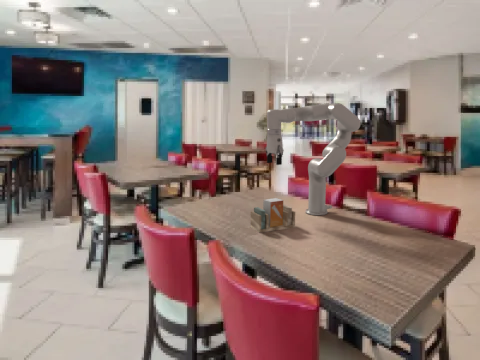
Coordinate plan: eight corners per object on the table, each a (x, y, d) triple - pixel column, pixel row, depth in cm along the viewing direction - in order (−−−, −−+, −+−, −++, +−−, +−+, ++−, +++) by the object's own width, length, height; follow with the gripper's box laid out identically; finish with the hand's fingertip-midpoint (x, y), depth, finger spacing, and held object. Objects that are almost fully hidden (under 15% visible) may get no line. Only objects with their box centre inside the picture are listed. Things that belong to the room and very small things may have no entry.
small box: (270, 227, 187) (270, 202, 185) (262, 224, 192) (263, 199, 190) (283, 225, 191) (283, 200, 189) (275, 222, 196) (276, 197, 194)
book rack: (284, 222, 200) (285, 203, 198) (294, 227, 191) (295, 207, 189) (250, 227, 192) (250, 207, 191) (259, 232, 183) (259, 212, 181)
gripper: (288, 132, 201) (288, 165, 204) (271, 131, 216) (272, 161, 219) (276, 133, 197) (276, 166, 200) (260, 132, 213) (260, 162, 216)
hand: (274, 163), depth 210 cm, fingers open, 9 cm apart
